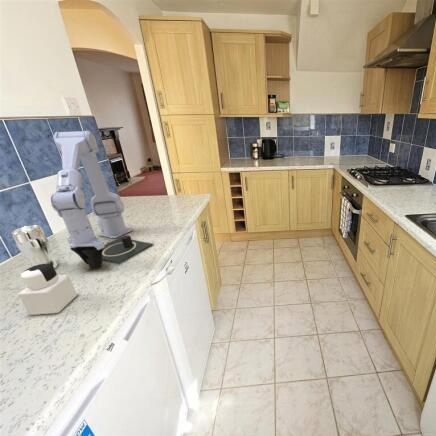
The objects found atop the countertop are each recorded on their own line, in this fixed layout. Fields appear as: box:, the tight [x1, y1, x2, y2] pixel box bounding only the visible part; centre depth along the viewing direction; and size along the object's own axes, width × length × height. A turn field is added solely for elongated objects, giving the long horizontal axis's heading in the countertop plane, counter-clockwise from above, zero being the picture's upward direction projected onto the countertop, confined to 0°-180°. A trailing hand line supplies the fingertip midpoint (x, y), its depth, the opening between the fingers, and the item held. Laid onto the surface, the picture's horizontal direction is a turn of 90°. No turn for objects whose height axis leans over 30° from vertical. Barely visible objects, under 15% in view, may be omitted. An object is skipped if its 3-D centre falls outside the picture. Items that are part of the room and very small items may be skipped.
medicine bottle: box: [17, 264, 78, 316], centre depth 64 cm, size 7×7×12 cm
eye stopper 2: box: [120, 234, 133, 248], centre depth 94 cm, size 3×3×4 cm
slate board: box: [102, 237, 154, 265], centre depth 93 cm, size 18×14×1 cm
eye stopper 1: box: [86, 257, 102, 271], centre depth 82 cm, size 3×3×4 cm
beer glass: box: [10, 224, 58, 269], centre depth 80 cm, size 7×7×15 cm
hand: (94, 263), depth 82 cm, fingers open, 4 cm apart
